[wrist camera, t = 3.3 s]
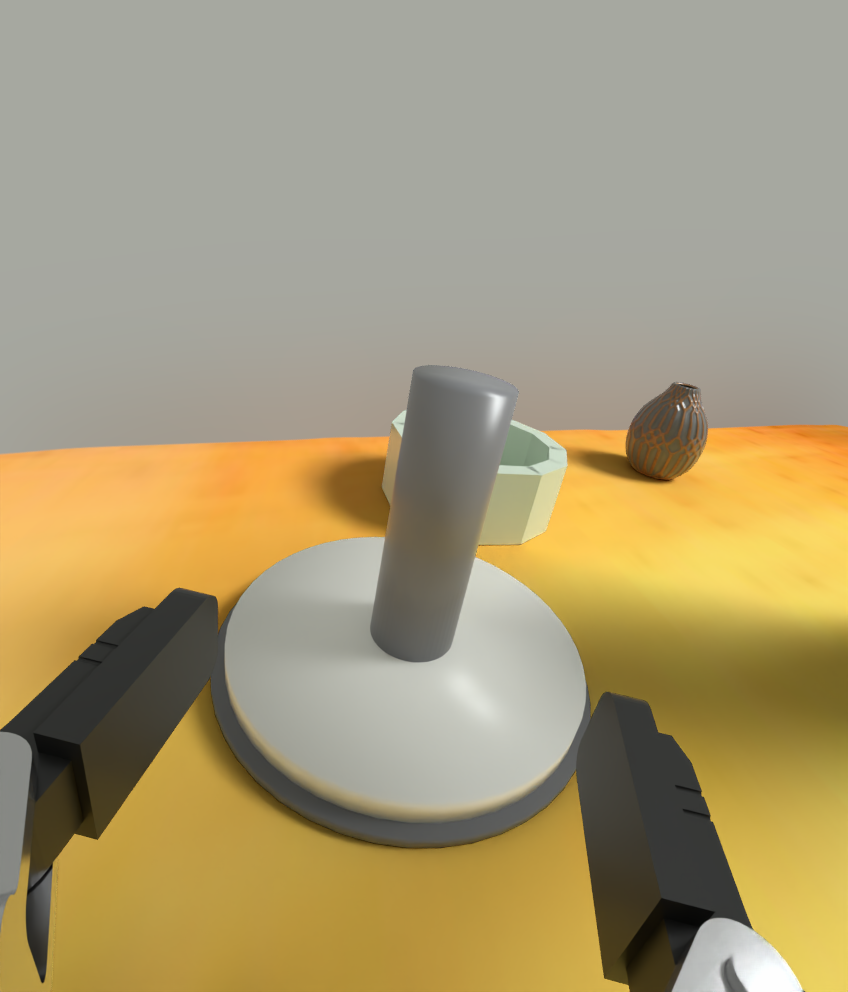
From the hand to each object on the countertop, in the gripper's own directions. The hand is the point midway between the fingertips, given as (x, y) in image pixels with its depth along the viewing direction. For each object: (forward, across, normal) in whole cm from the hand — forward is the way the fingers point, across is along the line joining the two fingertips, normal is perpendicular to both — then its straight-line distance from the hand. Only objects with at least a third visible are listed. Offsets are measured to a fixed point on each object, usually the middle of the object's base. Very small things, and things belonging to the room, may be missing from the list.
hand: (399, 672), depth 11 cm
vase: (+42, -19, +9) cm, 47 cm away
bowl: (+26, -1, +8) cm, 28 cm away
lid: (+9, 0, +8) cm, 12 cm away
